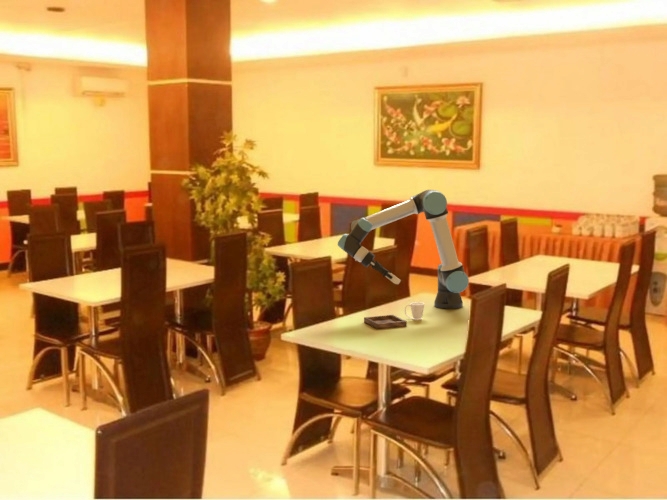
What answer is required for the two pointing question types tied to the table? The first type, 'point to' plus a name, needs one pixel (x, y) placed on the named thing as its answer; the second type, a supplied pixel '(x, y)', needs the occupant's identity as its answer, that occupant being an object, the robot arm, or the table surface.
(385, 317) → the tray
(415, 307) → the cup
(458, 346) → the table surface
